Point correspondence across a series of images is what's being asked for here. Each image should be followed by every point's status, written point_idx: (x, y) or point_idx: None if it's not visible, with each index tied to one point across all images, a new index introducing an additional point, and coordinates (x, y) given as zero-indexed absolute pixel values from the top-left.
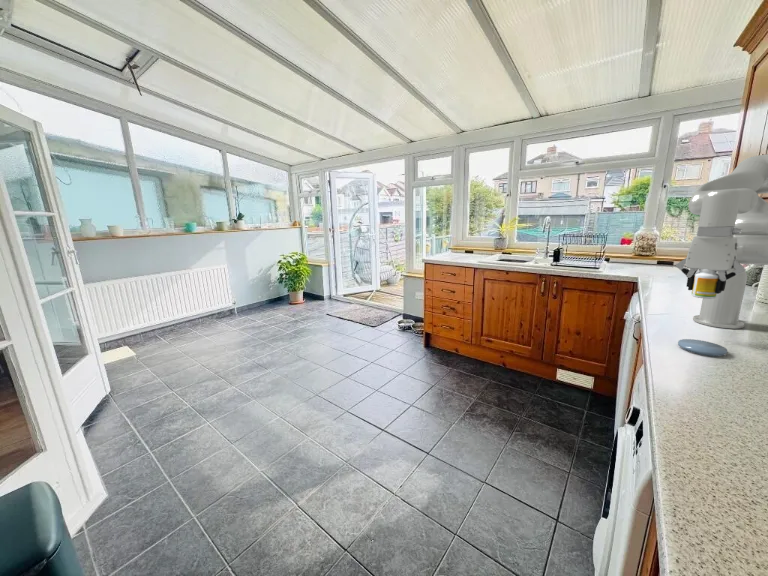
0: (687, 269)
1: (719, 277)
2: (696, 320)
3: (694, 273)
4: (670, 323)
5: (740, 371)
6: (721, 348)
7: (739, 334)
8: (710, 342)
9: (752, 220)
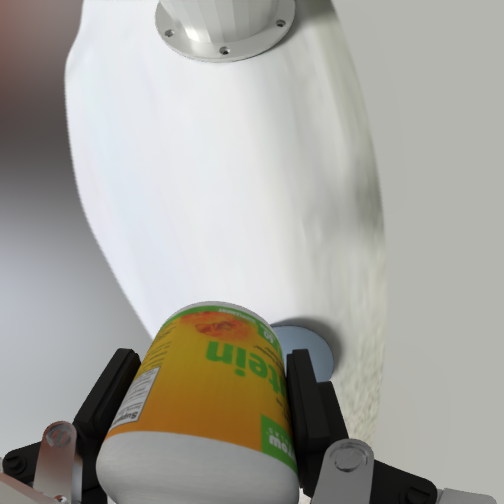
0: (33, 484)
1: (298, 484)
2: (173, 49)
3: (77, 464)
4: (124, 142)
5: (355, 409)
6: (322, 358)
7: (311, 91)
8: (293, 331)
9: None
